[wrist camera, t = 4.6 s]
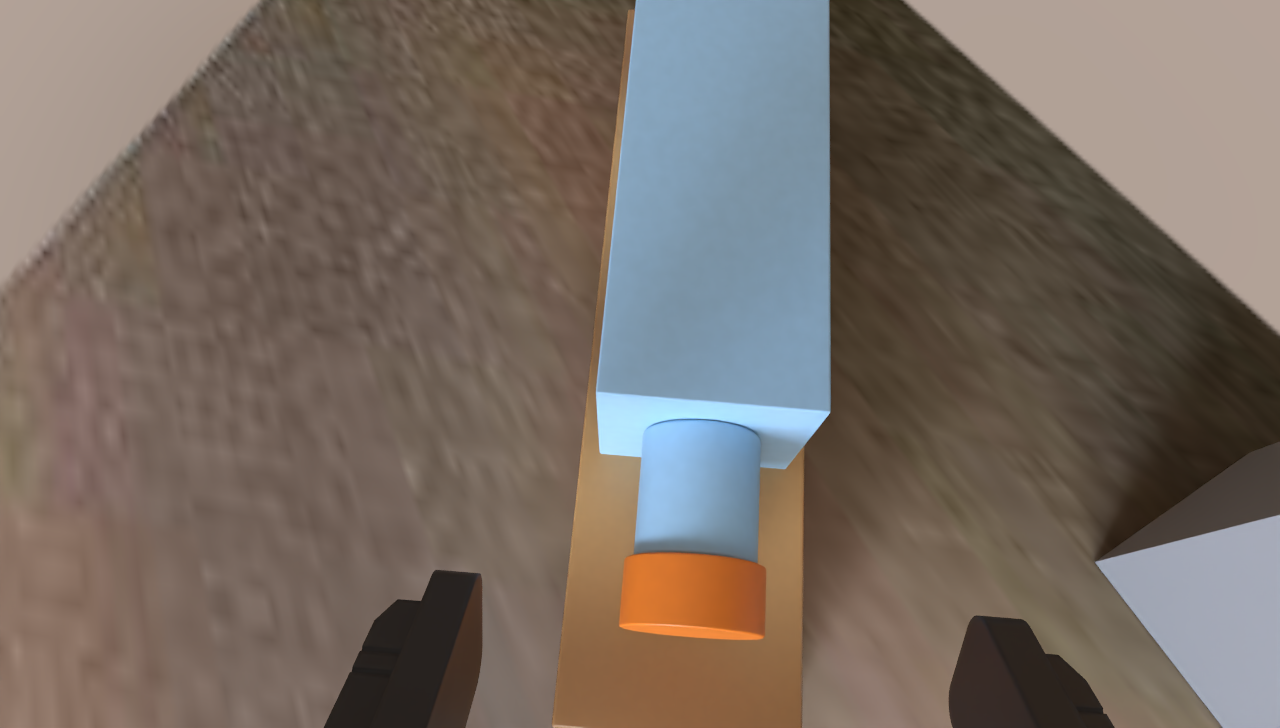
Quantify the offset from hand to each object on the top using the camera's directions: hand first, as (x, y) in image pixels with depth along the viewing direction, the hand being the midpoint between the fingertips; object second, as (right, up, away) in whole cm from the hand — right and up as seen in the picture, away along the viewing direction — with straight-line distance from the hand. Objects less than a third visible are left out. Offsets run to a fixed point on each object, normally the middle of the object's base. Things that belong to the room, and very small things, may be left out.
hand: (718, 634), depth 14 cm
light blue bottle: (0, +6, +10) cm, 12 cm away
